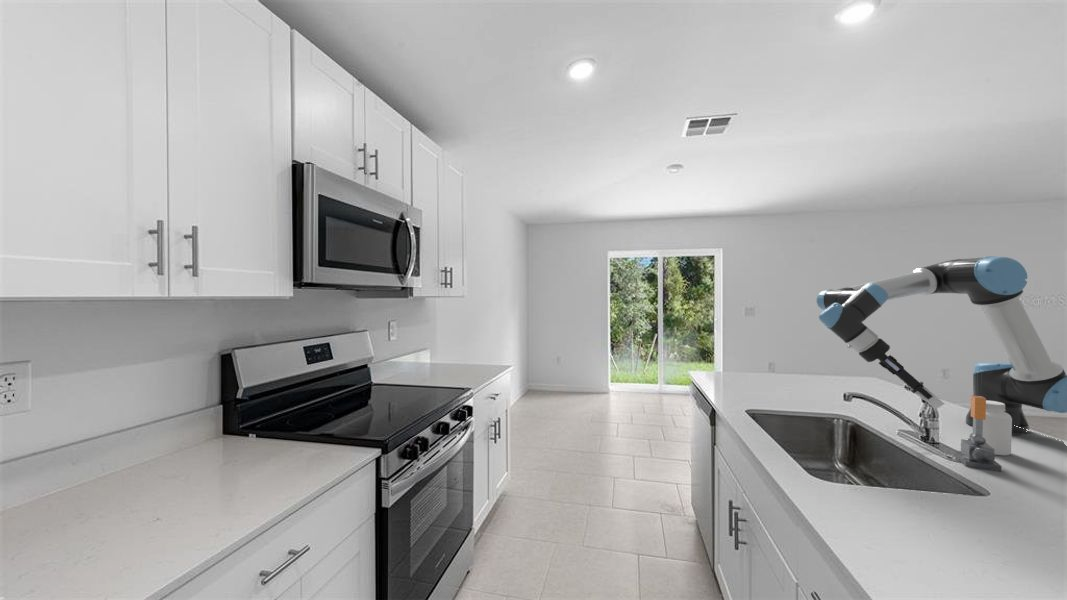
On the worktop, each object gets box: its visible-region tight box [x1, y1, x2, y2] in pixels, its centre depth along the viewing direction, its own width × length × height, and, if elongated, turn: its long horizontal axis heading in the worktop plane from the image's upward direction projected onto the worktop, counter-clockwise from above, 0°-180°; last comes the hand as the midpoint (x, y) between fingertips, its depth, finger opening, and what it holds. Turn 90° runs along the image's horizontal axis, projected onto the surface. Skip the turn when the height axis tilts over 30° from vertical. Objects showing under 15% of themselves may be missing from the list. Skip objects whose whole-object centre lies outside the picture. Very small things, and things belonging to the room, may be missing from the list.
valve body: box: [954, 438, 1002, 472], centre depth 119 cm, size 7×9×6 cm
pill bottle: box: [983, 400, 1013, 456], centre depth 128 cm, size 8×8×15 cm
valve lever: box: [968, 394, 986, 445], centre depth 119 cm, size 2×3×13 cm
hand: (939, 405), depth 123 cm, fingers closed
